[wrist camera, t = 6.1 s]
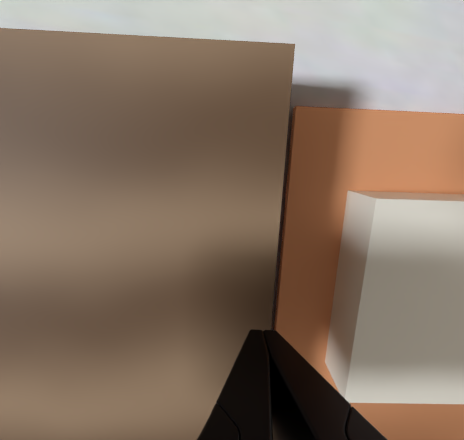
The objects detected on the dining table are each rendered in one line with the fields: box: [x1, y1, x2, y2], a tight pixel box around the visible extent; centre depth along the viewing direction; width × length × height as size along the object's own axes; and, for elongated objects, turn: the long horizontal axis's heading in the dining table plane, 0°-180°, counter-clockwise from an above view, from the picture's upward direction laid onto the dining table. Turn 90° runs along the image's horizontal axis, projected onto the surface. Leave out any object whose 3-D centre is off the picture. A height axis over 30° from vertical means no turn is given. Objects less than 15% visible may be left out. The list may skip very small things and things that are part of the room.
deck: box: [0, 28, 295, 440], centre depth 11 cm, size 18×14×4 cm
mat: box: [274, 106, 464, 440], centre depth 14 cm, size 18×14×1 cm
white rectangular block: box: [325, 190, 464, 404], centre depth 12 cm, size 9×6×2 cm, turn 178°
